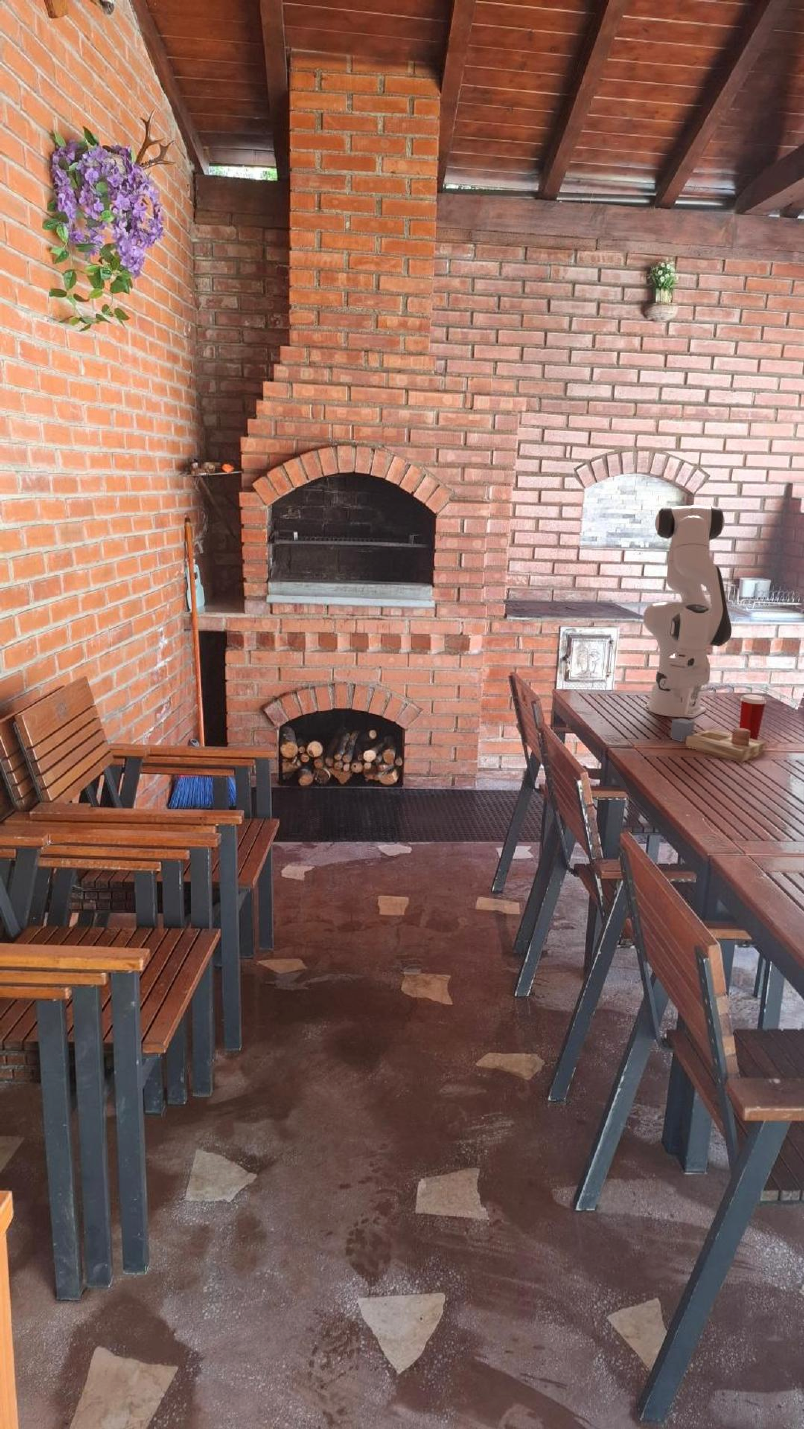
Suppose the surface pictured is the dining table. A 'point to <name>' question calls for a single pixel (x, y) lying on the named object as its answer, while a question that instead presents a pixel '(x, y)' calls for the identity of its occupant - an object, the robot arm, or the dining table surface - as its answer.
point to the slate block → (681, 729)
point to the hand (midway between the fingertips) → (686, 701)
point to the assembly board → (727, 744)
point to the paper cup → (752, 714)
